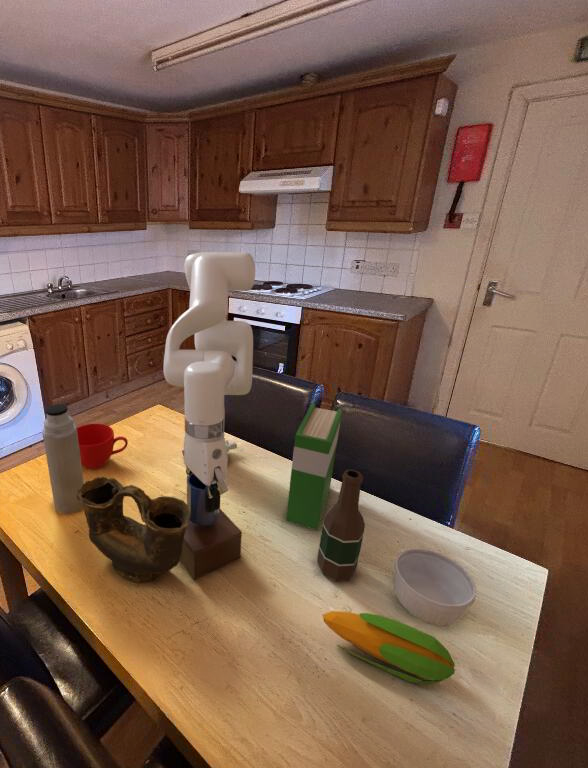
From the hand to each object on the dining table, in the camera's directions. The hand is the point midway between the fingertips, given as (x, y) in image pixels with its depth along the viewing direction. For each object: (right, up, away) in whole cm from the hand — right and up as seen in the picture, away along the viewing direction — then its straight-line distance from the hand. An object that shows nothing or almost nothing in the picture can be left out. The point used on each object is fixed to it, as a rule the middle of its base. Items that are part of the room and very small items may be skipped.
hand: (203, 499), depth 87 cm
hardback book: (+29, -7, +19) cm, 35 cm away
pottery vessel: (-14, -15, +2) cm, 21 cm away
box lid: (0, -7, +3) cm, 7 cm away
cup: (0, -4, +2) cm, 4 cm away
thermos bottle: (-33, -7, +21) cm, 40 cm away
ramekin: (+43, -18, -7) cm, 47 cm away
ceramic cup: (-28, 0, +38) cm, 47 cm away
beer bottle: (+28, -15, 0) cm, 32 cm away
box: (0, -13, +6) cm, 14 cm away
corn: (+29, -22, -17) cm, 40 cm away
